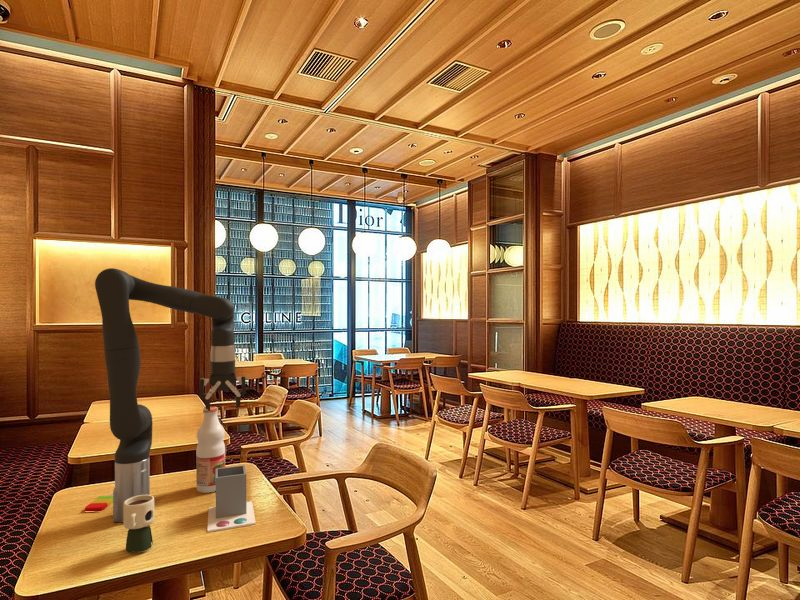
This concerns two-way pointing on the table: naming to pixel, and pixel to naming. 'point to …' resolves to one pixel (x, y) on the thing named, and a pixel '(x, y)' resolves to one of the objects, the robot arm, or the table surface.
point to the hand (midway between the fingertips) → (223, 409)
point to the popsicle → (100, 503)
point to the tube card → (230, 501)
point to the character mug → (138, 522)
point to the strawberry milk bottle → (209, 451)
